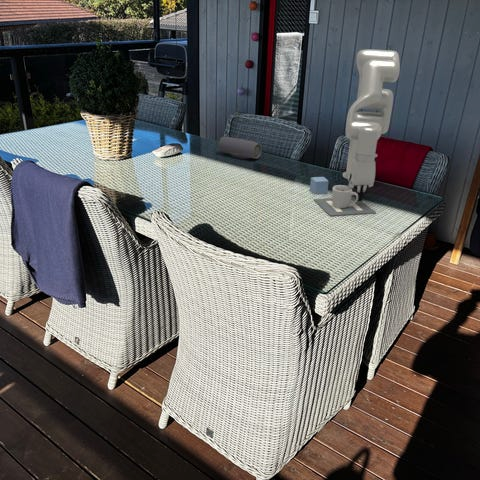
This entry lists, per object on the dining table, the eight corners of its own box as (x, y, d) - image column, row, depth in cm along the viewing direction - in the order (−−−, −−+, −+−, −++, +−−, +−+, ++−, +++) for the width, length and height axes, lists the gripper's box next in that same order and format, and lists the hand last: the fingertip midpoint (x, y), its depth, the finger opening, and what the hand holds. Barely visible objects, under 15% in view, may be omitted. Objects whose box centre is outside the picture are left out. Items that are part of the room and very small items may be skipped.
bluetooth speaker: (261, 158, 262) (262, 140, 258) (252, 162, 255) (253, 144, 251) (227, 151, 273) (227, 134, 269) (217, 155, 266) (217, 137, 262)
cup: (357, 205, 203) (360, 187, 199) (355, 212, 196) (358, 193, 192) (332, 201, 206) (334, 183, 202) (329, 208, 199) (331, 190, 196)
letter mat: (356, 197, 212) (356, 196, 211) (376, 213, 196) (376, 212, 196) (313, 200, 207) (313, 199, 207) (330, 216, 192) (330, 215, 191)
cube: (322, 189, 221) (323, 176, 218) (327, 193, 215) (328, 181, 213) (309, 189, 219) (311, 177, 217) (314, 194, 214) (315, 181, 212)
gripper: (377, 154, 199) (370, 196, 207) (343, 155, 195) (338, 197, 203) (386, 159, 192) (379, 202, 200) (351, 160, 189) (345, 204, 197)
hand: (358, 200), depth 202 cm, fingers closed
